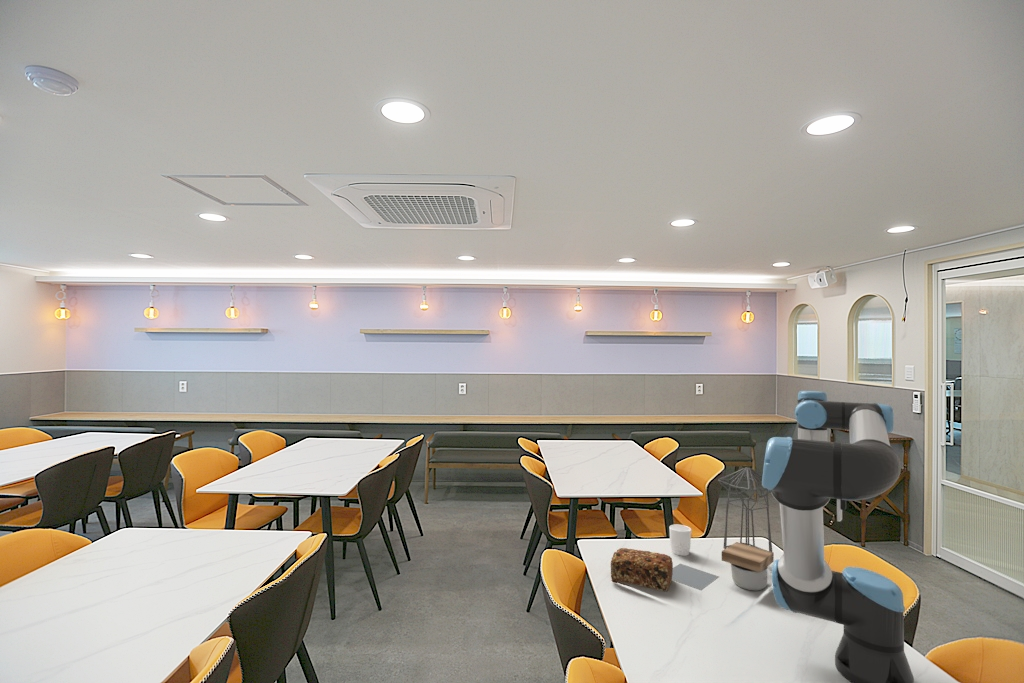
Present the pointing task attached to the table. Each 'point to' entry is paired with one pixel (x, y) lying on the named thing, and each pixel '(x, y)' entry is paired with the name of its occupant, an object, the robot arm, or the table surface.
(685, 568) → the mat
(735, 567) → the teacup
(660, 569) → the bread
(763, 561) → the wooden block
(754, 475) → the geometric lantern
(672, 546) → the white cup
